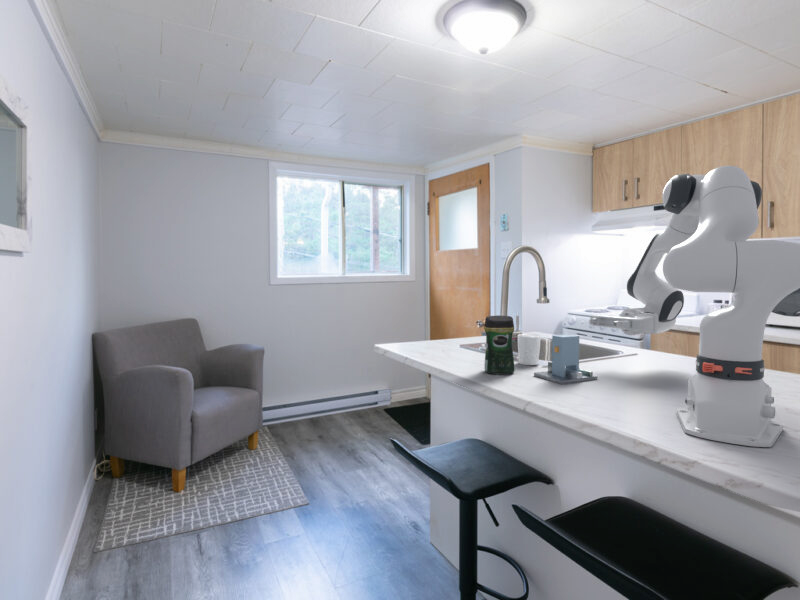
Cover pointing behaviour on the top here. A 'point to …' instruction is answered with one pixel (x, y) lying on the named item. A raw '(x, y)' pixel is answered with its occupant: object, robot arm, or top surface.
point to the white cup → (529, 349)
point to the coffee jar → (499, 344)
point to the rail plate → (566, 375)
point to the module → (565, 353)
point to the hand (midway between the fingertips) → (602, 323)
